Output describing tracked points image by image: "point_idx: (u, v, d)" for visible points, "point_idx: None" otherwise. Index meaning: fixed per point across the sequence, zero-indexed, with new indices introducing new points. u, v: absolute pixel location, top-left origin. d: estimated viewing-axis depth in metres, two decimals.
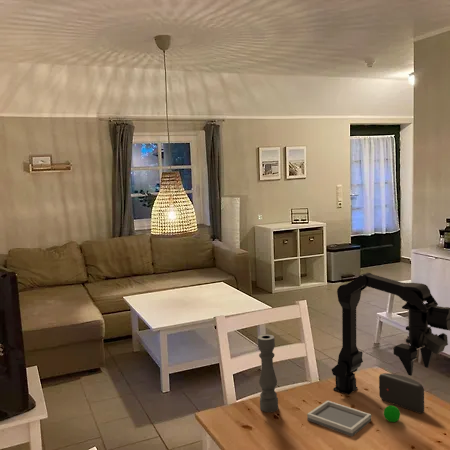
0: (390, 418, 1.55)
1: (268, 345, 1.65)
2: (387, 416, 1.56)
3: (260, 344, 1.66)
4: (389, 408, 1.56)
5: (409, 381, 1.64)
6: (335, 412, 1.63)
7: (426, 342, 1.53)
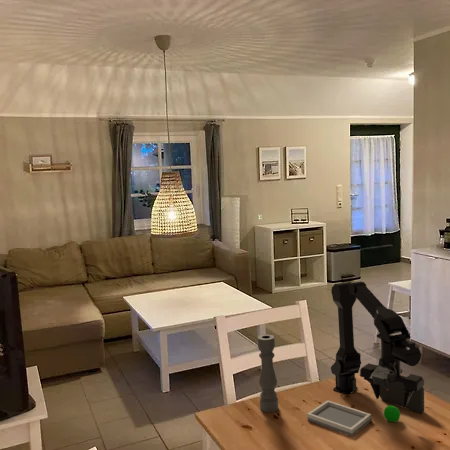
0: (390, 418, 1.55)
1: (268, 345, 1.65)
2: (387, 416, 1.56)
3: (260, 344, 1.66)
4: (389, 408, 1.56)
5: None
6: (335, 412, 1.63)
7: None
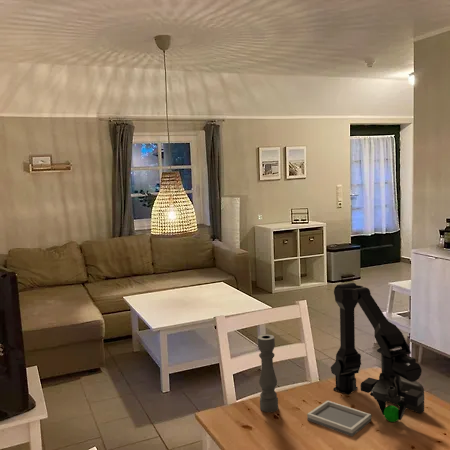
0: (390, 418, 1.55)
1: (268, 345, 1.65)
2: (387, 416, 1.56)
3: (260, 344, 1.66)
4: (389, 408, 1.56)
5: (409, 381, 1.64)
6: (335, 412, 1.63)
7: None
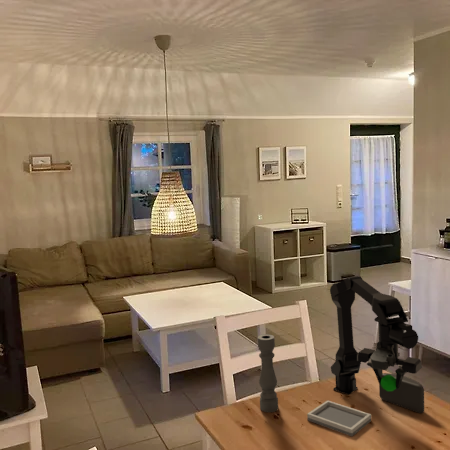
0: (387, 387, 1.54)
1: (268, 345, 1.65)
2: (384, 385, 1.55)
3: (260, 344, 1.66)
4: (386, 377, 1.55)
5: (409, 381, 1.64)
6: (335, 412, 1.63)
7: None
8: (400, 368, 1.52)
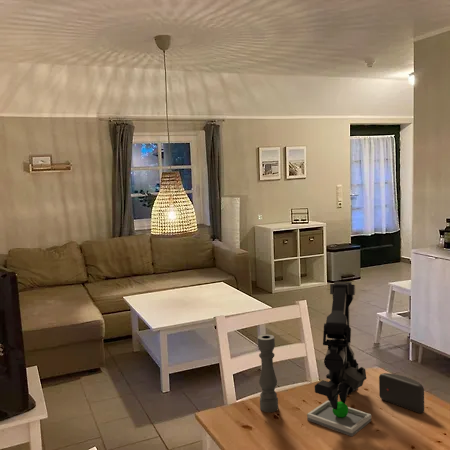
0: (347, 412, 1.58)
1: (268, 345, 1.65)
2: (346, 412, 1.58)
3: (260, 344, 1.66)
4: (342, 404, 1.58)
5: (409, 381, 1.64)
6: None
7: (346, 378, 1.53)
8: None
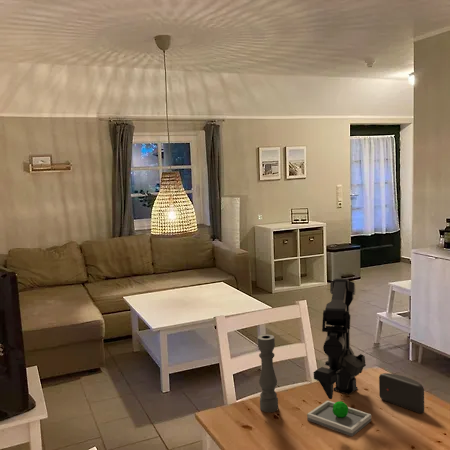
0: (347, 412, 1.58)
1: (268, 345, 1.65)
2: (346, 412, 1.58)
3: (260, 344, 1.66)
4: (342, 404, 1.58)
5: (409, 381, 1.64)
6: None
7: (345, 365, 1.52)
8: None
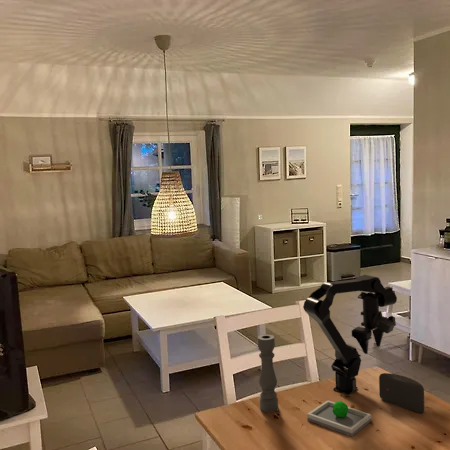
0: (347, 412, 1.58)
1: (268, 345, 1.65)
2: (346, 412, 1.58)
3: (260, 344, 1.66)
4: (342, 404, 1.58)
5: (409, 381, 1.64)
6: None
7: (378, 324, 1.80)
8: None
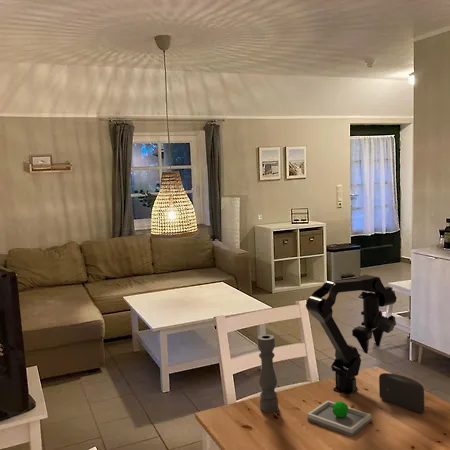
0: (347, 412, 1.58)
1: (268, 345, 1.65)
2: (346, 412, 1.58)
3: (260, 344, 1.66)
4: (342, 404, 1.58)
5: (409, 381, 1.64)
6: None
7: (379, 323, 1.80)
8: None
